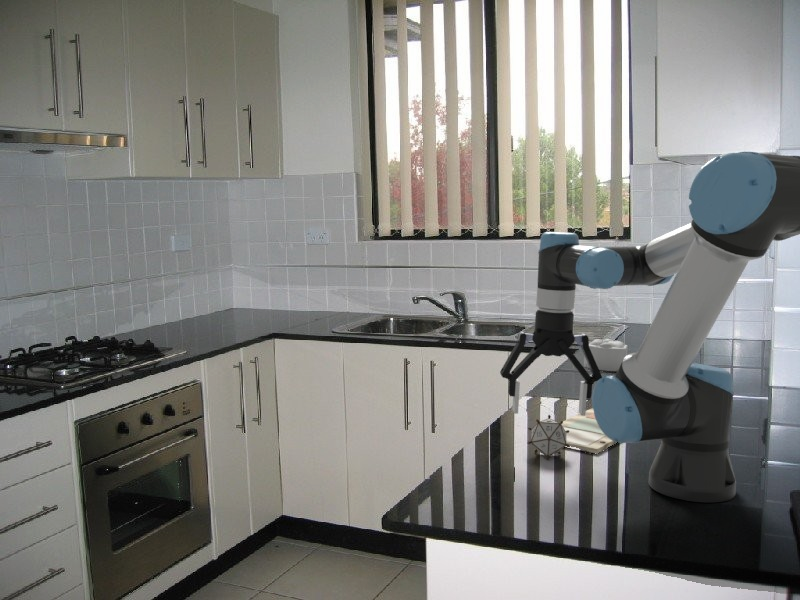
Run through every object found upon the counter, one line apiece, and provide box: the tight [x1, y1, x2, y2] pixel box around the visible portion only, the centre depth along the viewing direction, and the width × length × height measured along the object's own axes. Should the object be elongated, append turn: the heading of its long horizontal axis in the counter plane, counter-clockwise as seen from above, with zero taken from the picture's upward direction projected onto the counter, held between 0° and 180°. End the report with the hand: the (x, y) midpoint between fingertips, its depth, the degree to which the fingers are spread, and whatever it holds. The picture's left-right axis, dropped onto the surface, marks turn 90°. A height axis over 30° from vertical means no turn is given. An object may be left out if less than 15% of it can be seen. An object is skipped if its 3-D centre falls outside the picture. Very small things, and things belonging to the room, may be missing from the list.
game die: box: [526, 414, 570, 461], centre depth 171 cm, size 9×8×10 cm
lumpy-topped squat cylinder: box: [583, 338, 628, 372], centre depth 266 cm, size 10×13×9 cm
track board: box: [561, 407, 618, 455], centre depth 192 cm, size 35×15×1 cm, turn 144°
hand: (548, 413), depth 171 cm, fingers open, 13 cm apart
